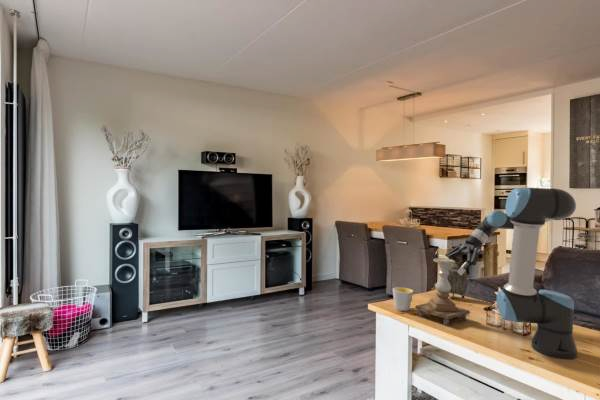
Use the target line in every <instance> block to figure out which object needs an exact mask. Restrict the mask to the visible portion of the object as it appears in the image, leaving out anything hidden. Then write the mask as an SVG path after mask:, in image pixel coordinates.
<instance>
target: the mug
mask: <svg viewBox="0 0 600 400" xmlns="http://www.w3.org/2000/svg"><path fill="white" fill-rule="evenodd" d="M392 293H393V294H392V296H393V303H394V304H393V305H394V307H395V310H396V311H399V312H407V311H409V309H410V308H411V304H412V303H411V302H412V300H413V295H414V294H413V293H414V290H413V289H412V288H408V287H397V286H396V287H393V288H392Z"/></svg>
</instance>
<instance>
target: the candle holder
mask: <svg viewBox="0 0 600 400" xmlns="http://www.w3.org/2000/svg"><path fill="white" fill-rule="evenodd" d="M432 261H433V262H434V263H436V264H437V263H438V266H439V270H438V272H437V273H438V275H439V278H438V280H437V282H436V283H435V289H436V290H437V291H436V293H435V294H436V297H434V298H430V299H429V300H428V301H427V303H428V305H429V306H430V307H431V308H432V309H433V310H434V311H444V312H457V309H458V308H457V307H458V306H456V305H457V304H456V303H454V302H453V301H452V300H451V299H450V298H449V297H450V296H451V295H450V293H448V291H450V290H451V285H450V283H449V281H448V279H447V277H448V274H449V272H448V267H450V266H451V264H454V263H455V261H456V260H455V259H446V258H444V257H443V258H441V257H440V258H439V257H436V258H433V260H432Z"/></svg>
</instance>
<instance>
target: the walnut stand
mask: <svg viewBox="0 0 600 400" xmlns="http://www.w3.org/2000/svg"><path fill="white" fill-rule="evenodd" d="M414 307H415V310H417V311H418V313H417V314H418V317H419V318H424V316H425V313H427V314H429V315H433V316H436V317H439V318H442V319H443V322H442V323H443V324H442V325H443V326H445V327H449V326H450V320H452V319H454V318H458V317H459V318H460V321H462V322H466V321H467V315H469V314H470V313H471V311H470V309H466V308H462V307H459V306H456V307H457V308H458V309H457V312H444V311H434V310H433V309H432V308H431V307H430V306H429V305H428V302H427V303H421V304H417V305H415V306H414Z"/></svg>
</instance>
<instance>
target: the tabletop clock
mask: <svg viewBox="0 0 600 400" xmlns="http://www.w3.org/2000/svg"><path fill="white" fill-rule="evenodd" d="M450 258H451V257H450ZM455 258H456V259H457V258H458V259H459V260H460V261H458V262H456V260H455V263H454V264H450V266H449V267H448V272H449V274H448V277H447V279H448V281H449V283H450V285H451V290H450V291H448V293H449V294H452V296H451V299H452V300H455V298H456V297H455V295H461V298H462V299H465V295H463V294H465V293H466V292H467V288H468V273H467V270H466V271H465V272H464V273H463V274H462V275H460V274H459V273H458V272H457V271H458V270H459V269H460V266H459V264H460V263H461V262H462V259H461V258H460V257H459V256H457V257H455Z"/></svg>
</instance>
